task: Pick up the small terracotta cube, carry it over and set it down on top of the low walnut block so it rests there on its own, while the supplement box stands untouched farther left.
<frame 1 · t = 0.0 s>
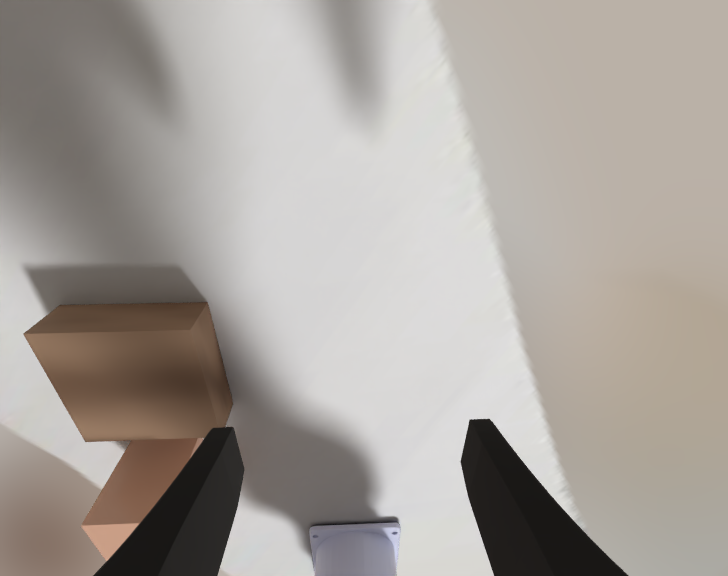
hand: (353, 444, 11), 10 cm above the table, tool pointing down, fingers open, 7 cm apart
walnut block: (157, 355, 22), on the table
cube: (176, 453, 27), on the table
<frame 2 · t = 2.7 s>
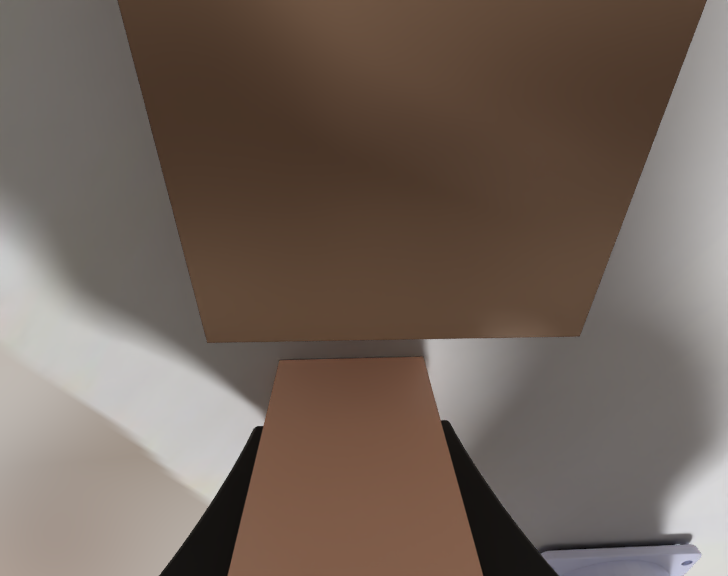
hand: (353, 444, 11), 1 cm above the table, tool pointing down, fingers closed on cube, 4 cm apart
walnut block: (390, 120, 8), on the table
cube: (352, 408, 12), on the table, touching gripper
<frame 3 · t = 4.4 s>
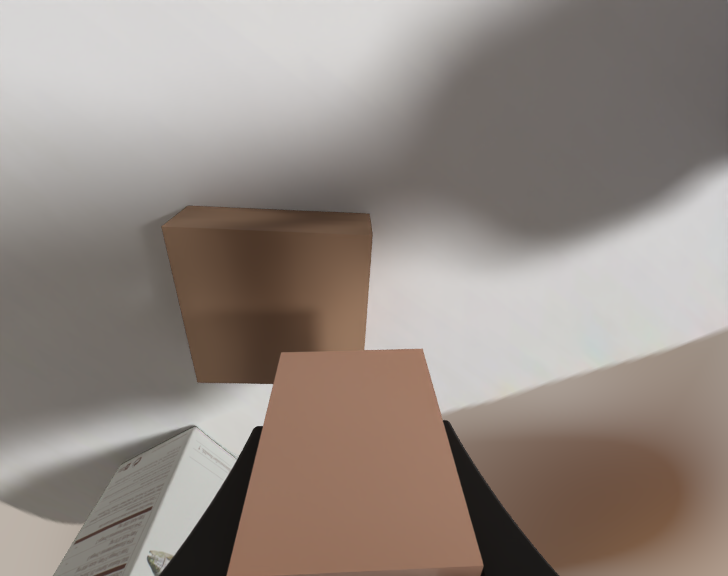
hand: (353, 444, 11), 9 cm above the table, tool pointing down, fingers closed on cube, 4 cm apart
supplement box: (197, 468, 25), on the table
walnut block: (285, 283, 18), on the table
cube: (353, 401, 13), point 7 cm above the table, touching gripper
when the fingers open (6 cm above the table, at t = 6.0 s): cube drops 1 cm, resting on walnut block.
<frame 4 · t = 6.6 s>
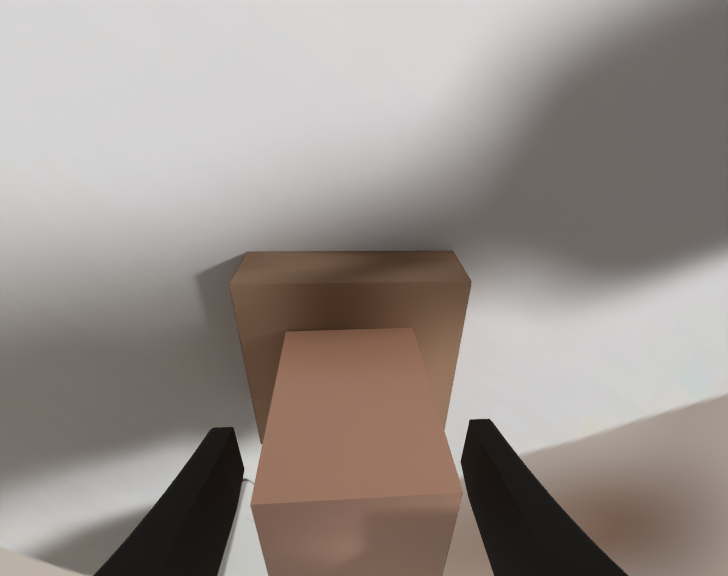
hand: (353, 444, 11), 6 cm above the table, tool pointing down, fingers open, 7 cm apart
supplement box: (246, 519, 24), on the table
walnut block: (351, 327, 17), on the table, touching cube
cube: (350, 376, 14), point 3 cm above the table, touching walnut block
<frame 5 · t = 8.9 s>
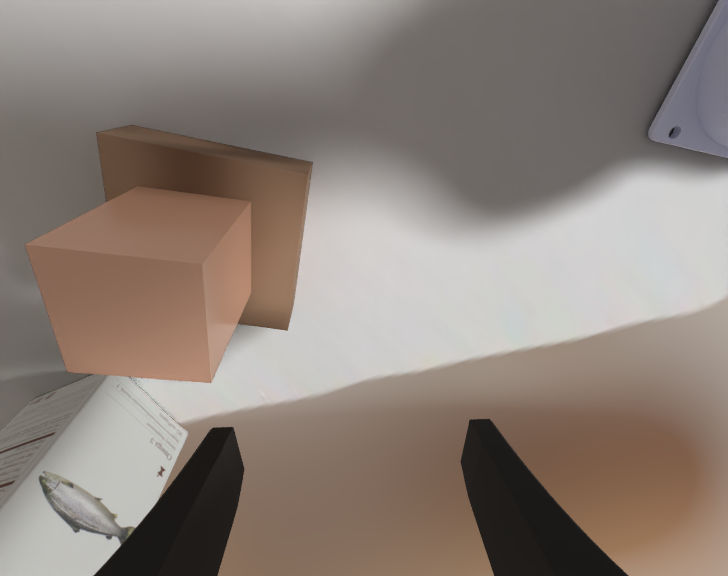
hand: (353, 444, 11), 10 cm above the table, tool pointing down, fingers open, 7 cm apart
supplement box: (115, 412, 25), on the table
walnut block: (225, 223, 19), on the table
cube: (199, 243, 16), point 3 cm above the table
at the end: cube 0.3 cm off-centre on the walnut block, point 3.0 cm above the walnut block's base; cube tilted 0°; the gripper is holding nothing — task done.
